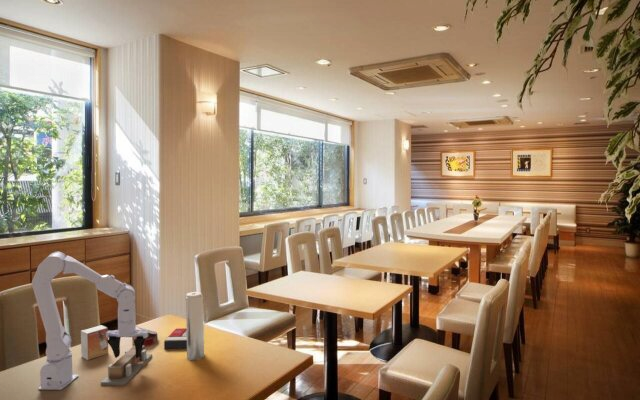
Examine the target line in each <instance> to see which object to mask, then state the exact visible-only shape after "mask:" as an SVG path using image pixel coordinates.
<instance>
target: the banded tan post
mask: <svg viewBox="0 0 640 400" xmlns="http://www.w3.org/2000/svg"><path fill="white" fill-rule="evenodd" d="M128 350H129V351H127V352H126V353H125V352H124V354H123V355H122V356H121V357H120V358H118V359H117V360H116V362H114V363H112V364H113V365H112V366H111V367H110V368H109V374H110V379H122V378H123V377H124V376H125V375H126V366H127V365H128V364H131V369H132V368H133V367H134V366H135V365H136V364H137V363H138V362H139V361H140V360H141V359H142V357H141V355H140V357H139V358H136V349H135V345H134V346H133V345H132V347H130V348H129V349H128ZM143 350H146V346H142V350H141V352H142V351H143Z"/></svg>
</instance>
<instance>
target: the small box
mask: <svg viewBox="0 0 640 400" xmlns="http://www.w3.org/2000/svg"><path fill="white" fill-rule="evenodd" d="M108 331H109V329H108V327H107V326H105V325H102V324H100V325H98V326H93V327H91V328H90V327H89V328H87V329H82V330H80V348H81V349H80V350H81V353H80V354H81V357H82V358H83V359H84V360H87V361H90V360H92V359H96V358H98V357H101V356H104V355H108V354H109V344H108V342H107V340H109V338H106V332H108Z"/></svg>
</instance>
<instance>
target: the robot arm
mask: <svg viewBox="0 0 640 400" xmlns="http://www.w3.org/2000/svg"><path fill="white" fill-rule="evenodd" d="M62 271H63V272H62ZM61 272H62V274H63V275H66V274H75V275H77V276H79V277H81V278H84V279H86V281H87V280H88V281H89V282H91V283H94V284H95V285H96V290H98V291H100V292H102V293H104V294H105V295H108V296H109V297H111V298H113V299H116V302H117V303H118V305H117V306H118V307H117V329H115V330H108V332H106V338H108V340H107V342H108V346H109V347H110V349H111V350H112V353H113V355H114V358H115V359H117V358H119V357H120V354H121V346H120V345H121V344H120V343H121V338H132V337H137V339H135V340H134V344H135V349H136V358H139V357H140V355H141V350H142V346H143V344H144V341H145V339H146V338H147V337H148V331H143V330H141V329H136V328H137V324H136V302H135V301H136V291H135V288H134V287H133V286H132V285H131V284H127V283H126V282H122V281H120V280H118V279H116V278H115V277H116V276H114V275H113V274H111V275H109V274H104V275H101V274H100V273H99V272H97V271H95V270H93V269H92V268H90V267H89V266H88V265H86V264H84V263H82V262H81V261H79V260H77V259H75V258H74V257H72V256H70V255H66V253H63V252H61V251H54V252H51V253H50V254H49V255H47V257H46V258H44V259H43V260H42V261H41V262H40V263H39V264H38V266H37V269H36V272H35V274H34V276H33V278H32V280H31V287H32V290H33V293H34V296H35V301H36V304H37V306H38V310H39V314H40V318H41V320H42V323H43V327H44V330H45V331H44V332H45V343H46V349H45V355H46V361H45V364H43V366H42V367H41V368H40V371H39V377H40V379H39V380H40V386H39V387H38V390H50V391H51V390H52V391H53V390H55V391H56V390H59V391H61V390H63V389H64V388H65V387H67V386H68V385H69V384H71V383H72V382H73V381H74V380H76V379H77V378H78V377H79V374H74V373H73V352H72V350H70V346H71V345H72V337H71V335H70V334H69V333H68V332H67V330H66V328H65V326H64V325H63V323H62V319H61V315H60V312H59V309H58V305H57V302H56V297H55V295H54V291H53V288H52V284H51V282H52V281H53V279H54V278H55V277H56V276H58V275H59V274H60V273H61Z"/></svg>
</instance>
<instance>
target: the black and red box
mask: <svg viewBox="0 0 640 400" xmlns="http://www.w3.org/2000/svg"><path fill="white" fill-rule="evenodd" d="M163 344H164V345H163V346H164V348H163V349H164V350H165V351H166V350H187V327H186V328H185V327H184V328H175V329H174V330H173V331H172V332H171V333H170V334H169V336H168V337H166V339H165V340H164V341H163Z"/></svg>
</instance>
